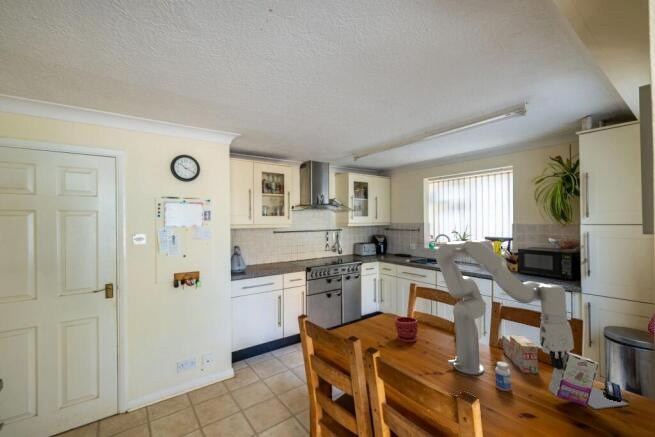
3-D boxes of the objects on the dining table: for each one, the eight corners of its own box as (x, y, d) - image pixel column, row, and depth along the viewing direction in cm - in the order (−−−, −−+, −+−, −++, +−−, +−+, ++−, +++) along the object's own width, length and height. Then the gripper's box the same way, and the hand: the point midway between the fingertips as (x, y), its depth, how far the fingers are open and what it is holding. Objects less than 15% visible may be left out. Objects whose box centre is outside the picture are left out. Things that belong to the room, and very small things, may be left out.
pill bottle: (492, 384, 118) (491, 361, 118) (504, 383, 118) (503, 360, 118) (502, 391, 112) (500, 367, 113) (514, 390, 113) (513, 366, 113)
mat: (595, 409, 100) (595, 408, 100) (565, 392, 111) (565, 390, 111) (628, 405, 102) (628, 404, 102) (595, 388, 113) (595, 387, 113)
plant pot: (420, 337, 169) (420, 317, 170) (414, 345, 158) (414, 324, 159) (399, 333, 176) (399, 314, 177) (392, 341, 165) (392, 320, 166)
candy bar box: (575, 399, 106) (588, 357, 107) (587, 407, 101) (600, 364, 102) (546, 389, 107) (558, 348, 107) (556, 397, 102) (569, 354, 102)
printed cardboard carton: (502, 352, 147) (501, 328, 148) (516, 353, 146) (514, 329, 147) (523, 372, 126) (521, 345, 127) (538, 373, 125) (537, 346, 126)
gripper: (545, 322, 100) (548, 374, 99) (581, 319, 102) (585, 370, 101) (528, 316, 108) (531, 364, 107) (562, 313, 110) (565, 361, 109)
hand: (557, 367), depth 104 cm, fingers closed
